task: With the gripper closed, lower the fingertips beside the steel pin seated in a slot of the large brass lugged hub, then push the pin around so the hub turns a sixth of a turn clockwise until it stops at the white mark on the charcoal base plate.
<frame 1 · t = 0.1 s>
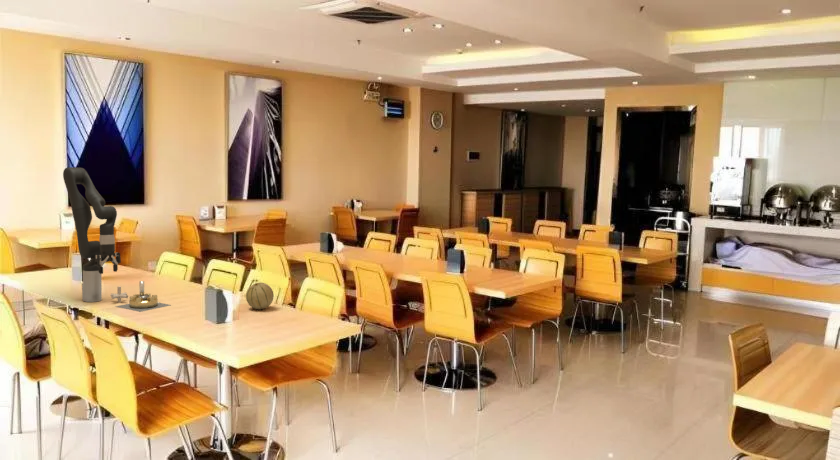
hand: (108, 272, 355), 17 cm above the table, tool pointing down, fingers open, 8 cm apart
cantaloupe: (259, 309, 359), on the table
base plate: (143, 308, 349), on the table
pipe connector: (119, 305, 356), on the table
brass lugged hub: (143, 294, 349), point 8 cm above the table, hinge at 0.0°
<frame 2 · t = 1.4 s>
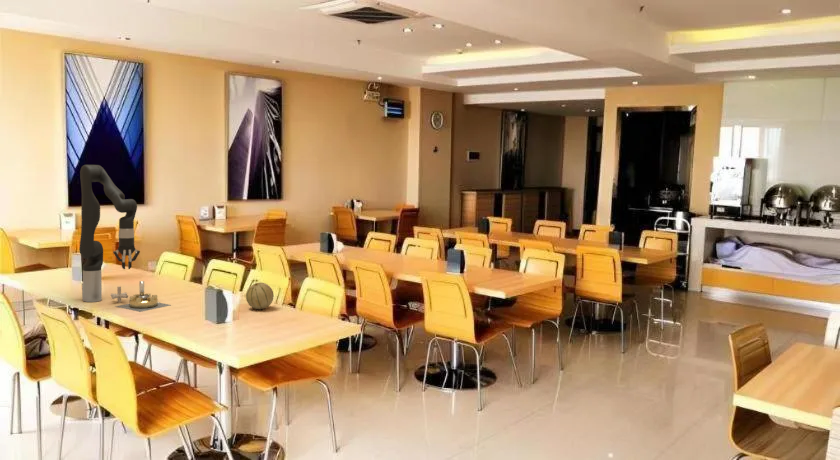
hand: (126, 268, 348), 21 cm above the table, tool pointing down, fingers closed
nothing on the table moved.
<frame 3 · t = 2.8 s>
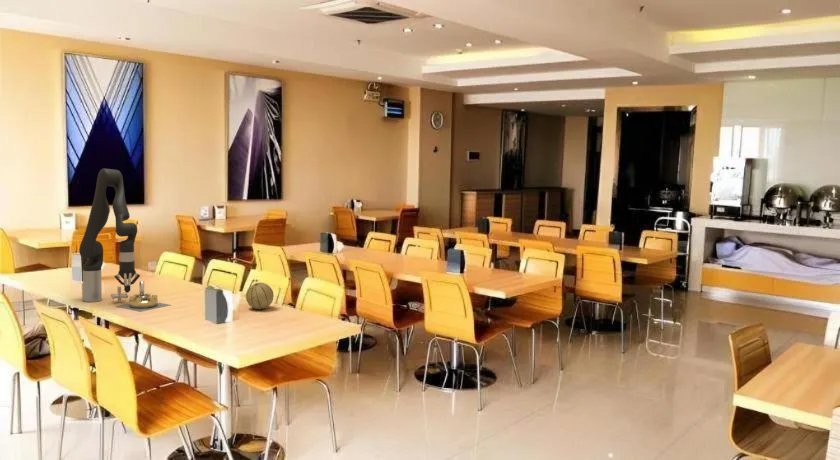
hand: (127, 292, 349), 8 cm above the table, tool pointing down, fingers closed
nothing on the table moved.
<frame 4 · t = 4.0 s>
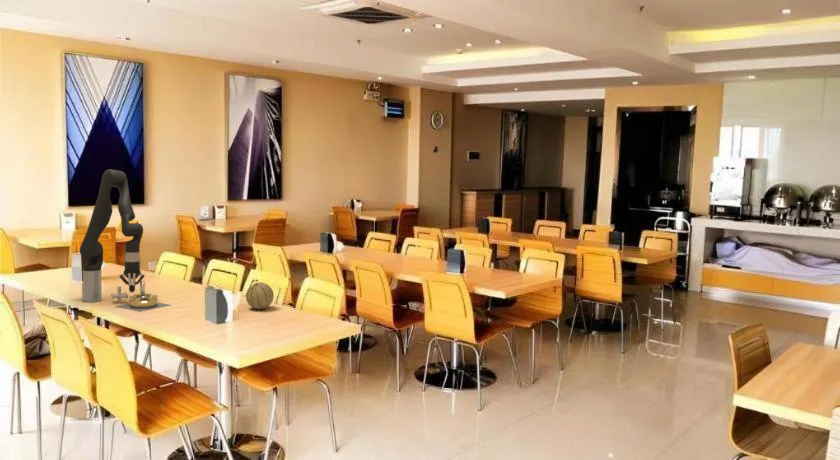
hand: (132, 292, 351), 8 cm above the table, tool pointing down, fingers closed
brass lugged hub: (143, 294, 349), point 8 cm above the table, hinge at -3.6°, touching hand
everything else where it was.
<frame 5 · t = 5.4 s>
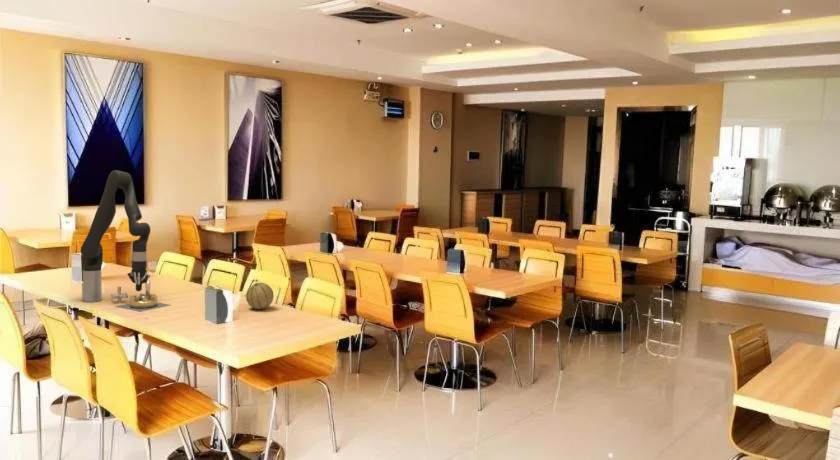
hand: (138, 290, 355), 8 cm above the table, tool pointing down, fingers closed
brass lugged hub: (143, 294, 349), point 8 cm above the table, hinge at -31.7°, touching hand
everything else where it was.
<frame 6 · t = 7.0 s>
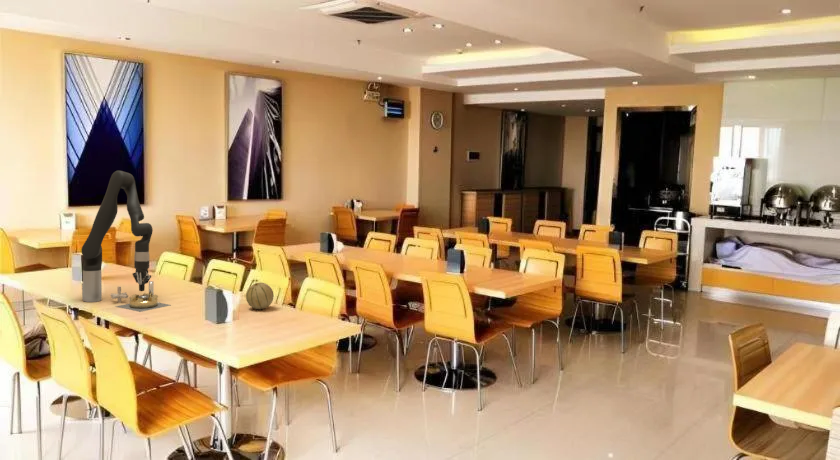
hand: (141, 290, 357), 8 cm above the table, tool pointing down, fingers closed
brass lugged hub: (143, 294, 349), point 8 cm above the table, hinge at -52.5°
everything else where it was.
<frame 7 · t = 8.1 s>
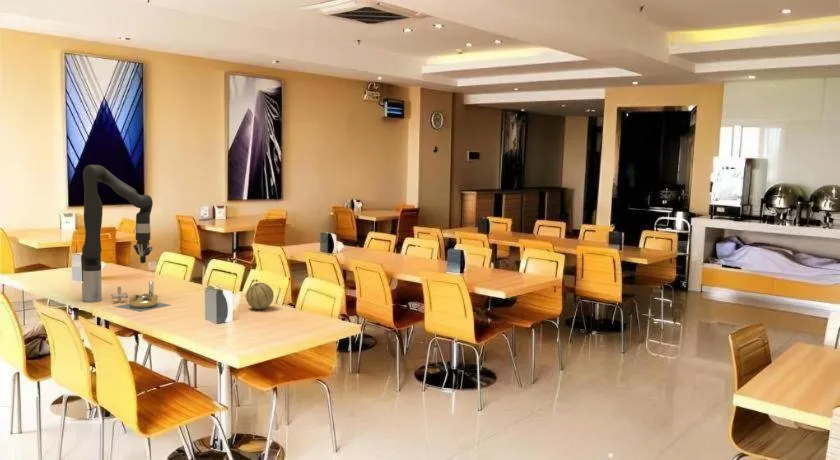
hand: (143, 262, 357), 23 cm above the table, tool pointing down, fingers closed
nothing on the table moved.
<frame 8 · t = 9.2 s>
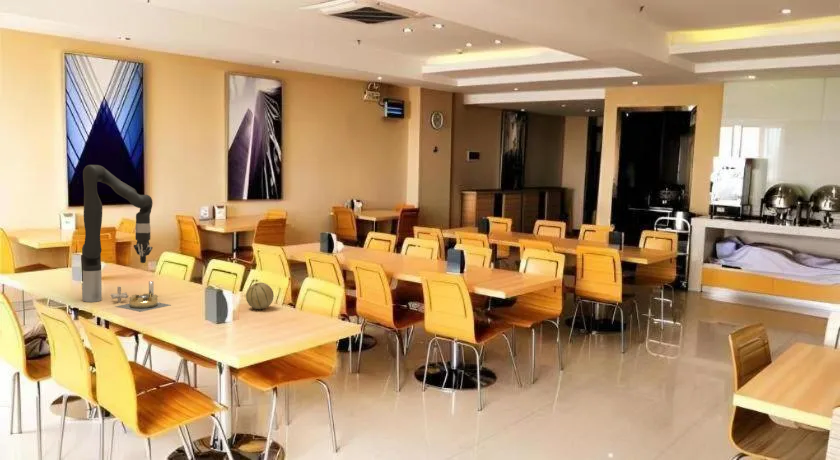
hand: (143, 262, 357), 23 cm above the table, tool pointing down, fingers closed
nothing on the table moved.
at the end: brass lugged hub at -52° (first picture: +0°); pipe connector moved 0.2 cm from its start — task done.
